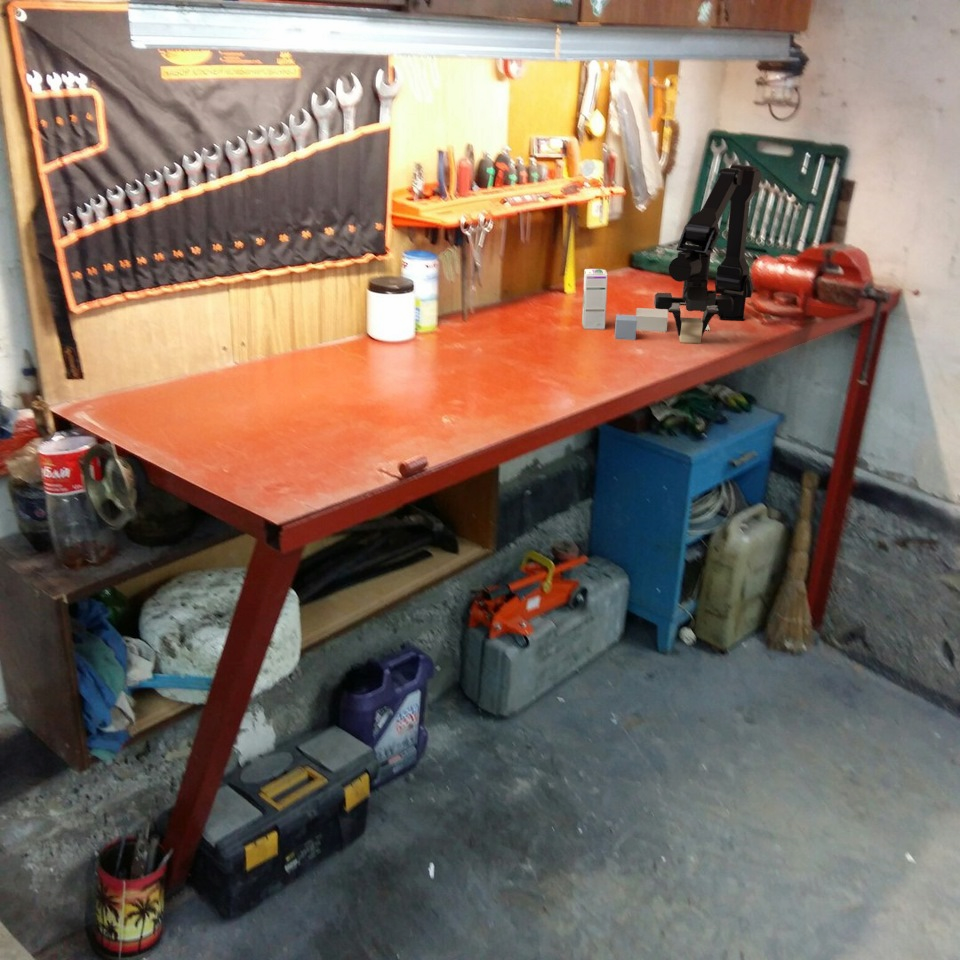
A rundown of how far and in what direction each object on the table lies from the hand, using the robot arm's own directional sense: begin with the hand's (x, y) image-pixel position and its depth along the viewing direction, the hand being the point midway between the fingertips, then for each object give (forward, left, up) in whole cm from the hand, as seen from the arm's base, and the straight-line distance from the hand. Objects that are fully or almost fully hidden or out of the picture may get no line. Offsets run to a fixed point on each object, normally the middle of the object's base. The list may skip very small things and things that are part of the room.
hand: (690, 335), depth 245 cm
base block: (+9, -11, -2) cm, 14 cm away
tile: (-2, -13, -1) cm, 13 cm away
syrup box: (+24, -9, -1) cm, 26 cm away
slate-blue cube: (+16, -1, -1) cm, 16 cm away
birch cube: (0, 0, -1) cm, 1 cm away
